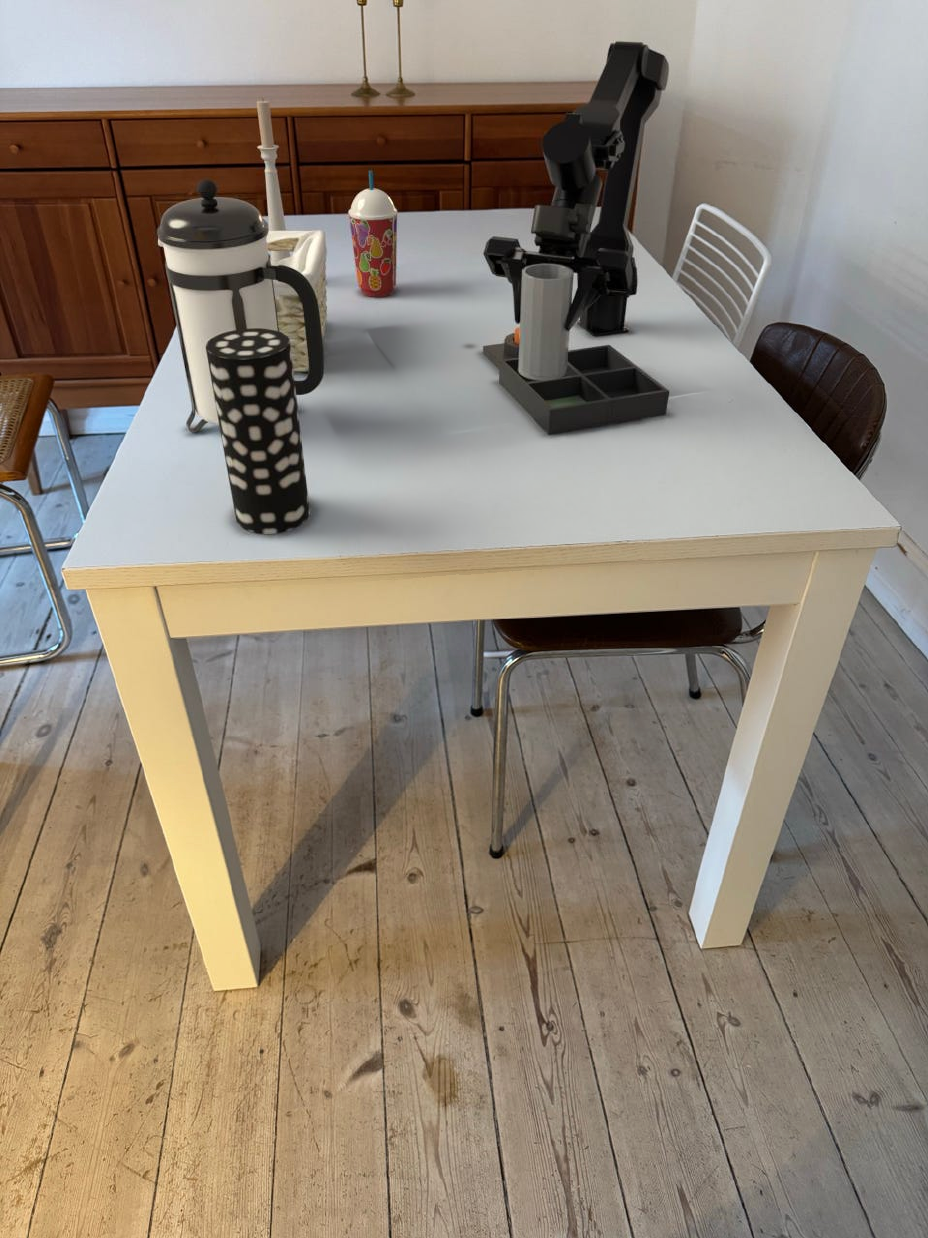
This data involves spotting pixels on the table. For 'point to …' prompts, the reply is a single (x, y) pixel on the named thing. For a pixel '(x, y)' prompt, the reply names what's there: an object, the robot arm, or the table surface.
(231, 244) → the coffee press
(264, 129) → the candlestick
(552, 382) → the divided tray
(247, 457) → the spotted tube
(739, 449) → the table surface
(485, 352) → the block
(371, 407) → the table surface
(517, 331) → the button
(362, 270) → the smoothie
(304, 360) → the basket
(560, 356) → the tumbler
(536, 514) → the table surface
